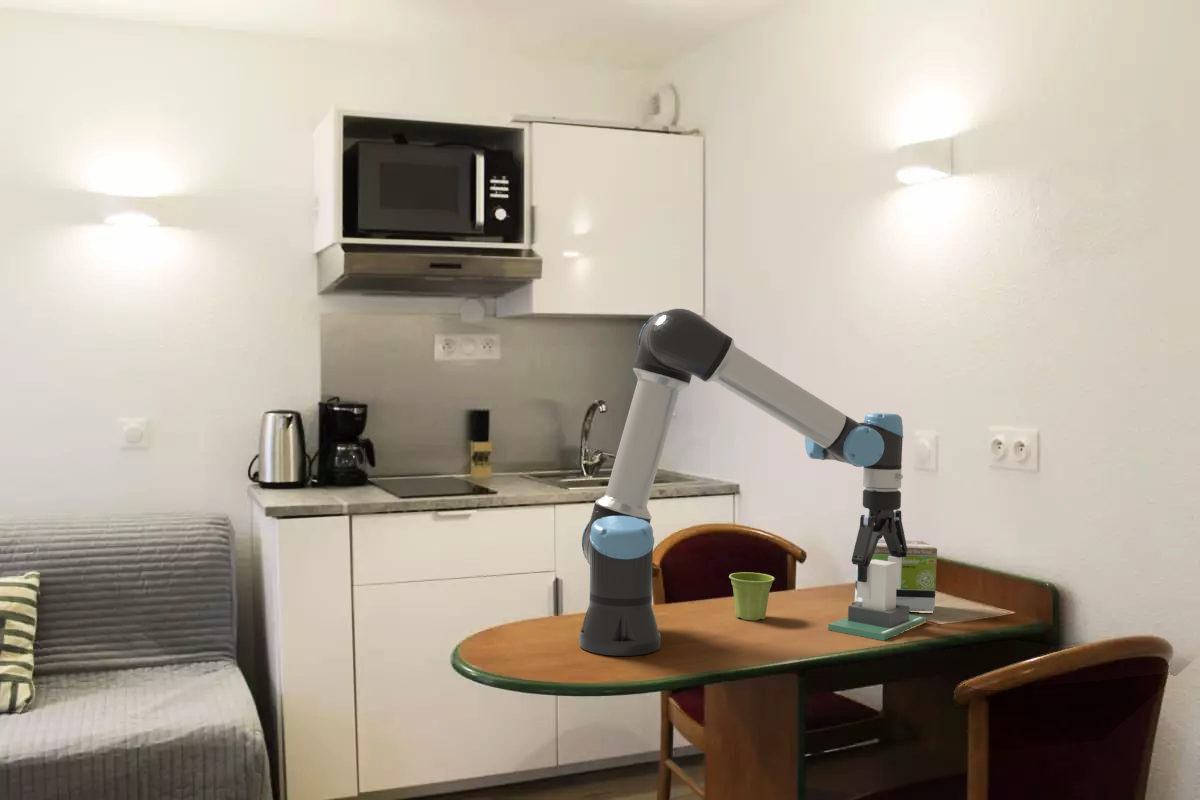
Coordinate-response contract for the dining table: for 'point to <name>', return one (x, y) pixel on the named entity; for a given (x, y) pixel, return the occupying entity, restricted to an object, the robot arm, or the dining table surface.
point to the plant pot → (751, 594)
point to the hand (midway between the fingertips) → (879, 593)
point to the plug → (882, 586)
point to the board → (876, 621)
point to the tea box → (912, 575)
